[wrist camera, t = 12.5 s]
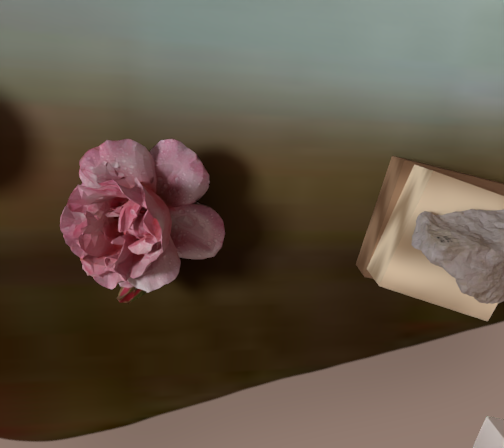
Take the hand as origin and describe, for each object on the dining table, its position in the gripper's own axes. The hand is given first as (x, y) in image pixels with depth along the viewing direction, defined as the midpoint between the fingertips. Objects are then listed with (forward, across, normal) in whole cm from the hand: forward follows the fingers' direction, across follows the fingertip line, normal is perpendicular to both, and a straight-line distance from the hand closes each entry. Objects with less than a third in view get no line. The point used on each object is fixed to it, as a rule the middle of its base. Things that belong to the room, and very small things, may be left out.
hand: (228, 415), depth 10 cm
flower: (+32, -9, -4) cm, 33 cm away
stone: (+25, +19, 0) cm, 31 cm away
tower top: (+28, +20, 0) cm, 35 cm away
